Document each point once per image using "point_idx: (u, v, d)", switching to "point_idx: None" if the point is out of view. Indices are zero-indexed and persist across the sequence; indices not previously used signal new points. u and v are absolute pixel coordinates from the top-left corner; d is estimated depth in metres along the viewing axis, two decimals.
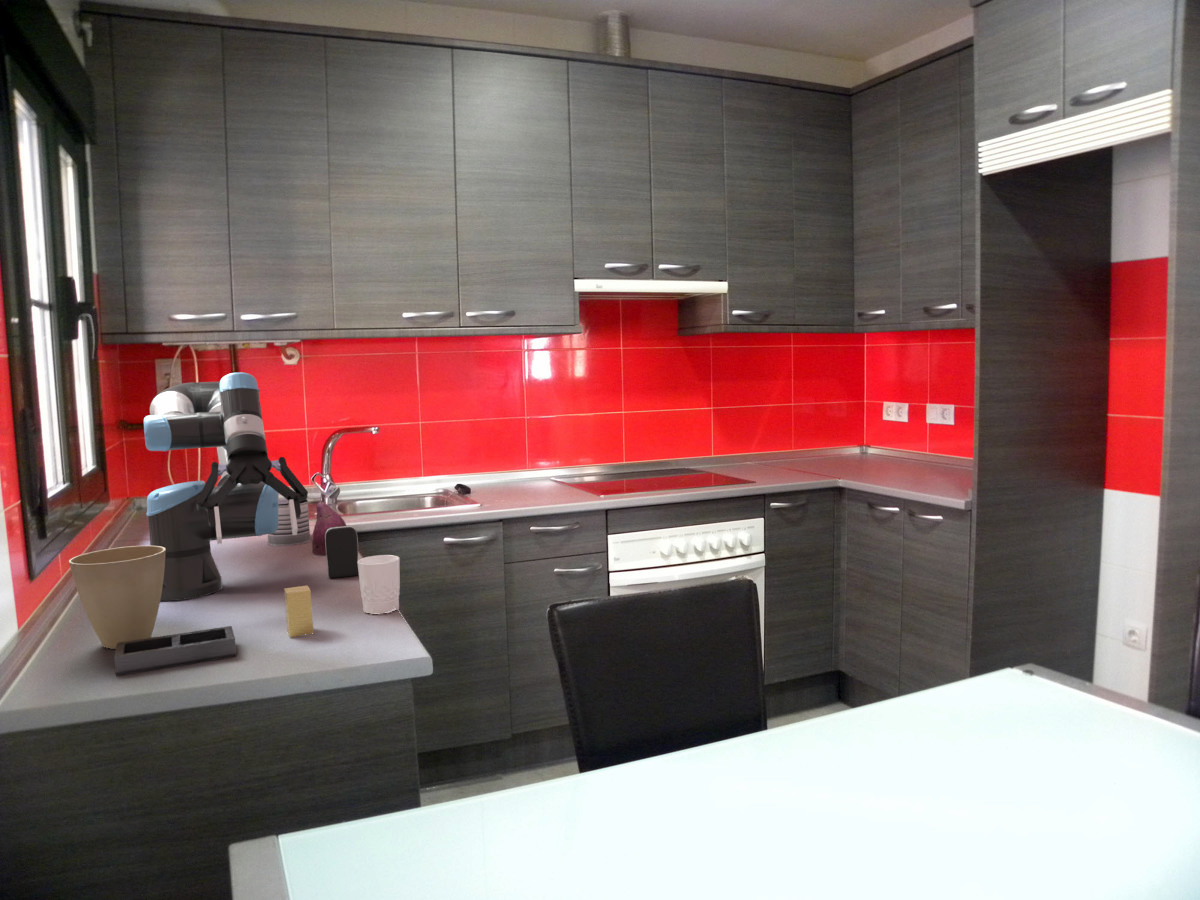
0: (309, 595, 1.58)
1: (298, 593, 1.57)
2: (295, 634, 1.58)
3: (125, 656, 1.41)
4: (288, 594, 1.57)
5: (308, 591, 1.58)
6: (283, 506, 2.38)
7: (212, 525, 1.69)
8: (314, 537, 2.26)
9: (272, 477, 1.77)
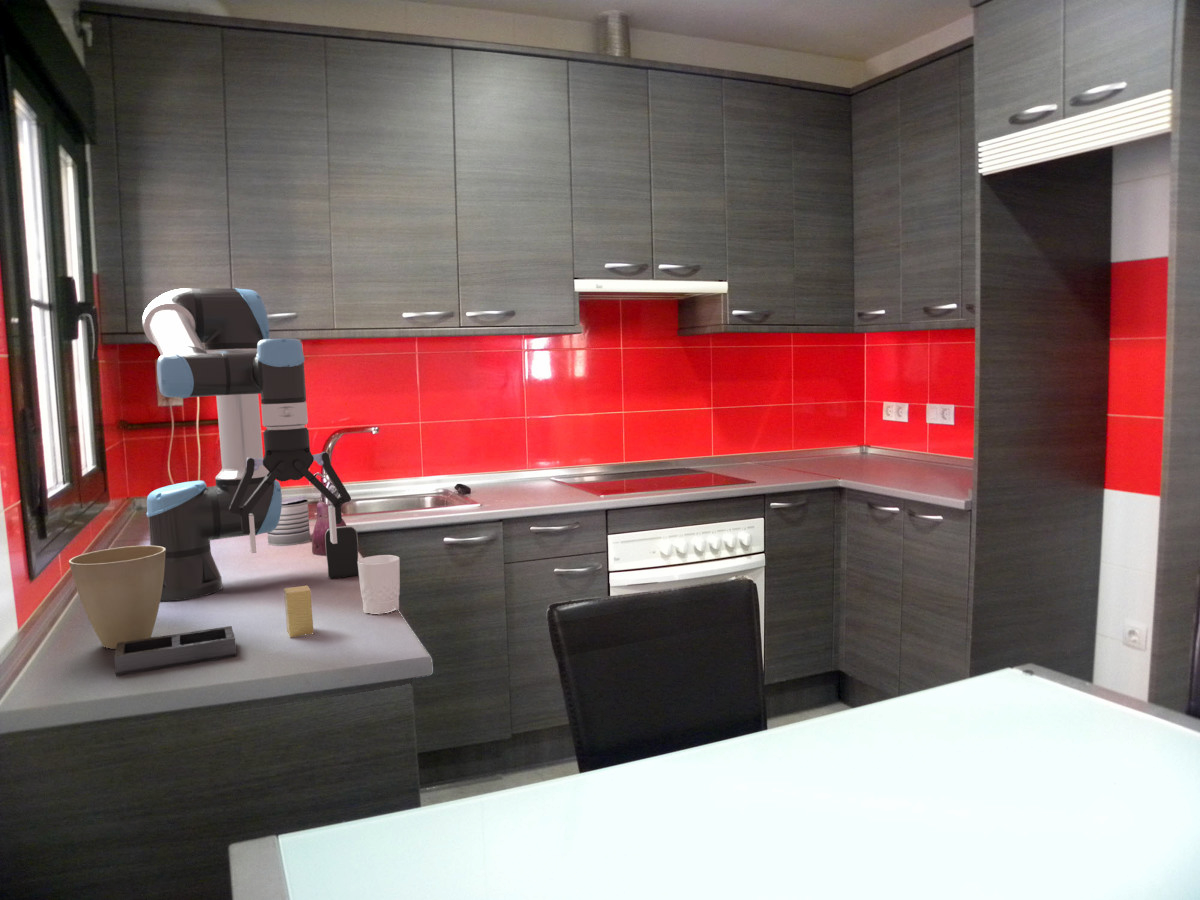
0: (309, 595, 1.58)
1: (298, 593, 1.57)
2: (295, 634, 1.58)
3: (125, 656, 1.41)
4: (288, 594, 1.57)
5: (308, 591, 1.58)
6: (283, 506, 2.38)
7: None
8: (314, 537, 2.26)
9: (313, 479, 1.58)
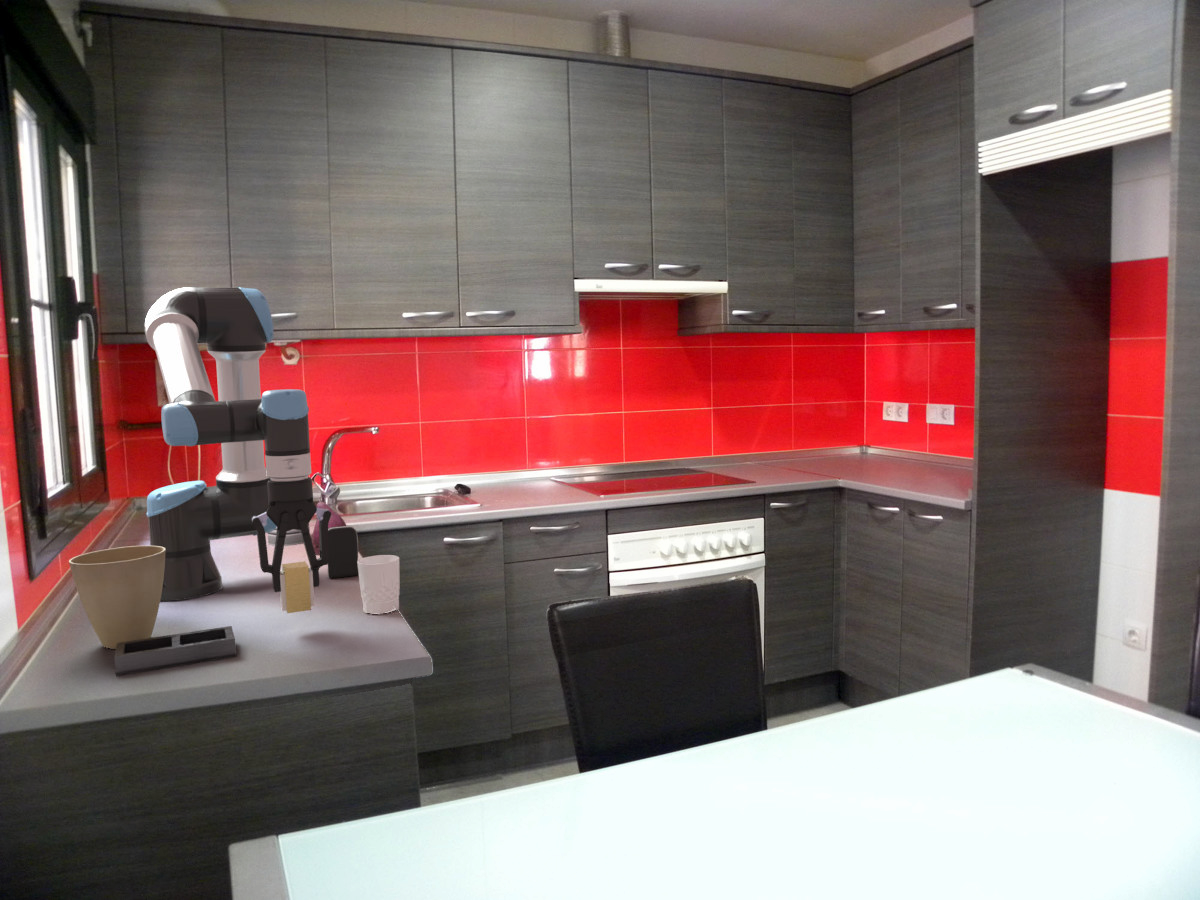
0: (307, 571, 1.58)
1: (296, 569, 1.57)
2: (293, 610, 1.58)
3: (125, 656, 1.41)
4: (286, 570, 1.57)
5: (306, 567, 1.58)
6: None
7: None
8: (314, 537, 2.26)
9: (306, 535, 1.58)
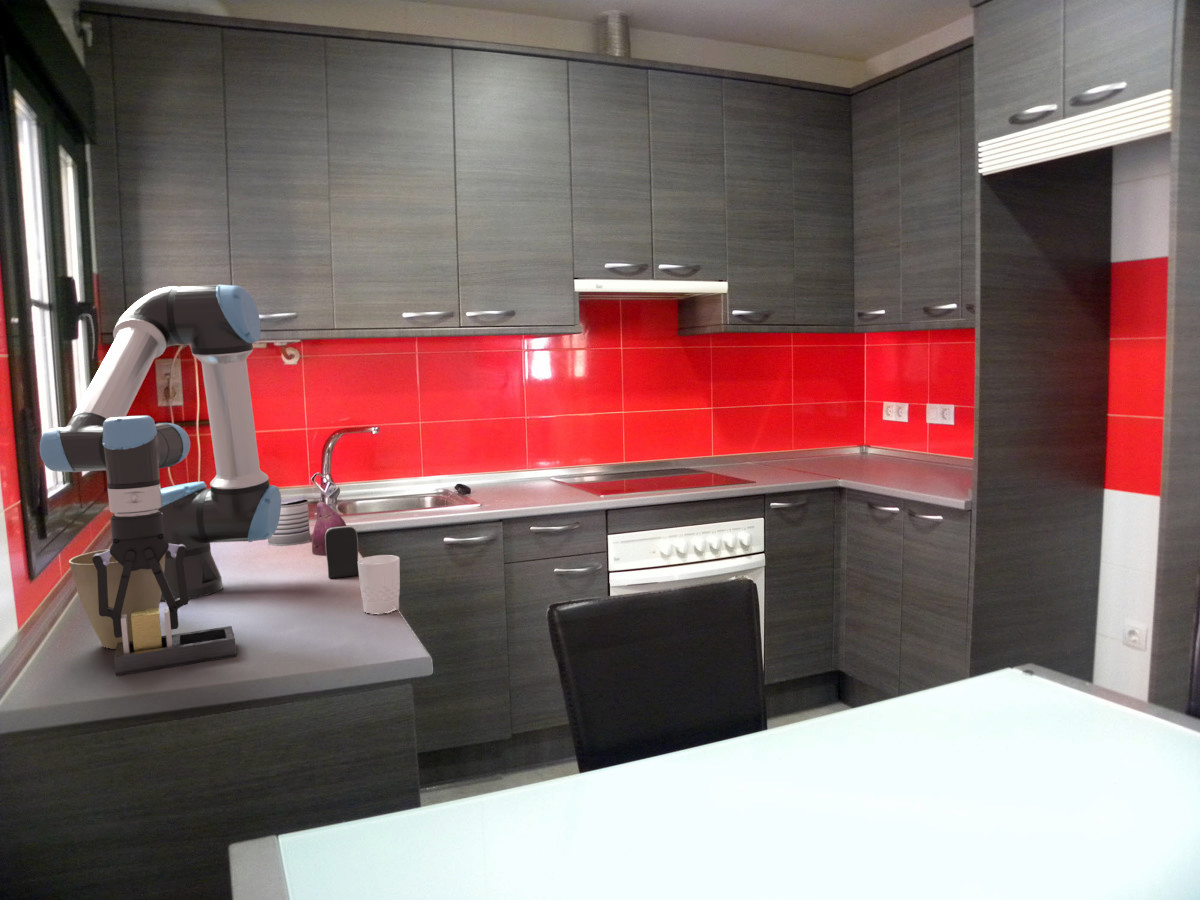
0: (158, 619, 1.44)
1: (144, 617, 1.44)
2: None
3: (125, 656, 1.41)
4: (132, 618, 1.43)
5: (156, 614, 1.44)
6: (283, 506, 2.38)
7: None
8: (314, 537, 2.26)
9: (159, 573, 1.45)
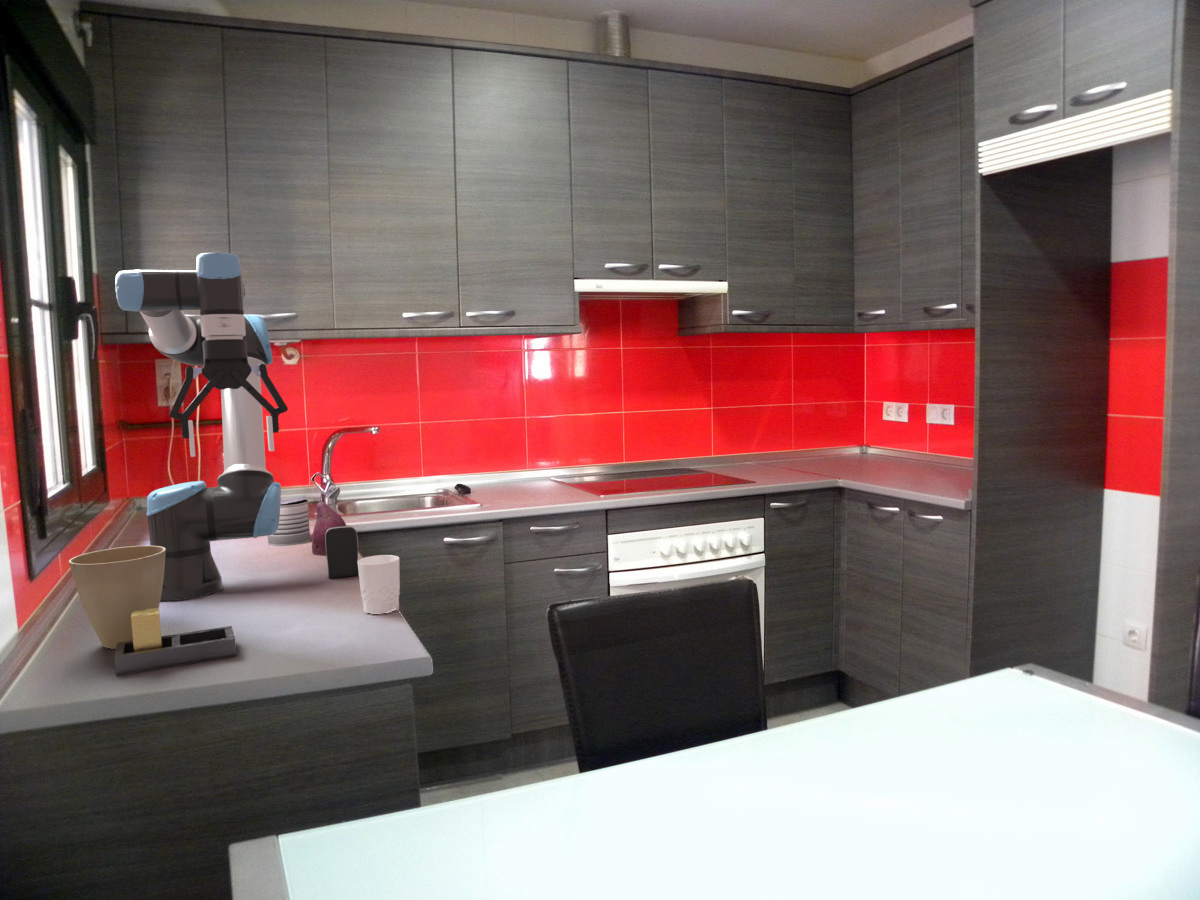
0: (158, 619, 1.44)
1: (144, 617, 1.44)
2: None
3: (125, 656, 1.41)
4: (132, 618, 1.43)
5: (156, 614, 1.44)
6: (283, 506, 2.38)
7: None
8: (314, 537, 2.26)
9: (251, 388, 1.66)
